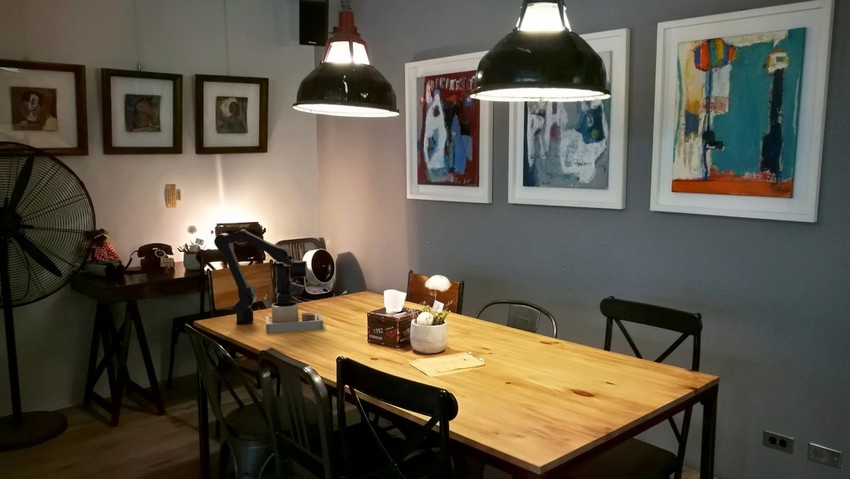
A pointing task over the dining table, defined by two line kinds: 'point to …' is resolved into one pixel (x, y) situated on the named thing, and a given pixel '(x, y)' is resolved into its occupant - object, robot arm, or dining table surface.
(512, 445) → the dining table surface
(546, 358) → the dining table surface
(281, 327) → the tray bay
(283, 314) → the planter
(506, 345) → the dining table surface
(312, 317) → the walnut block
